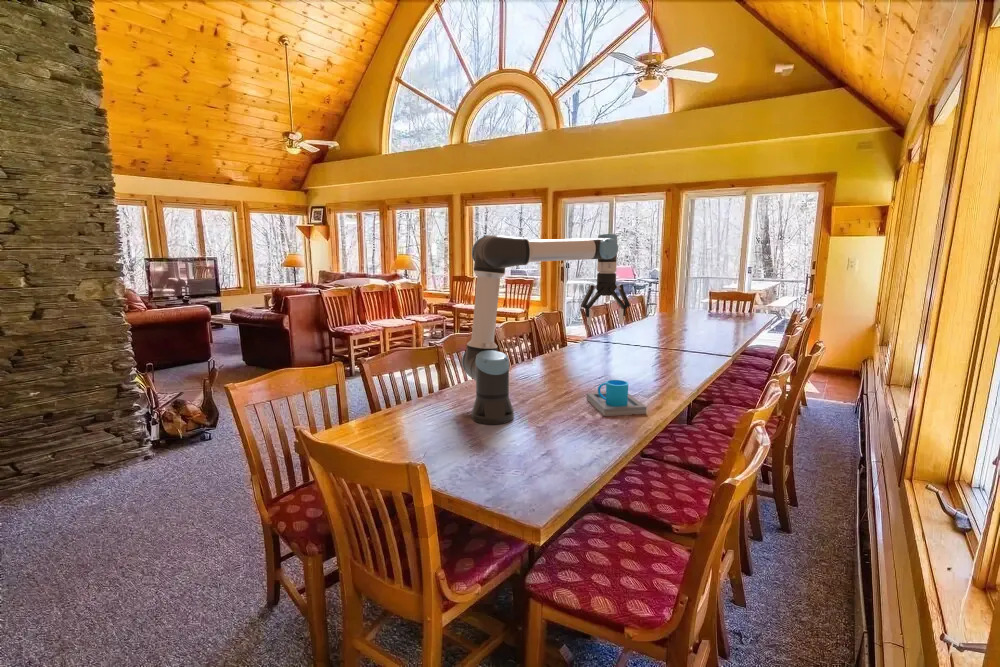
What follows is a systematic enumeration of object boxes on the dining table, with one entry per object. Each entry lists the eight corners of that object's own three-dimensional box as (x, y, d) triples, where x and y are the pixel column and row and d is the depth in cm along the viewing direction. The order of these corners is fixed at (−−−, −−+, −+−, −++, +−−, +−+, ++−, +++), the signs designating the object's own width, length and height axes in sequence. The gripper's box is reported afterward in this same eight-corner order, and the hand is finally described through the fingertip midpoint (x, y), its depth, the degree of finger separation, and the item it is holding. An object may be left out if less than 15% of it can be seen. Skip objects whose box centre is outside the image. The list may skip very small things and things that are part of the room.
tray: (604, 416, 179) (604, 409, 178) (586, 399, 198) (586, 393, 198) (646, 413, 181) (646, 406, 181) (624, 397, 201) (624, 391, 200)
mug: (631, 402, 189) (631, 382, 188) (621, 408, 183) (622, 387, 181) (602, 397, 196) (602, 377, 195) (592, 402, 190) (593, 381, 189)
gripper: (579, 273, 194) (578, 326, 198) (639, 272, 198) (637, 325, 202) (574, 272, 202) (572, 323, 205) (632, 271, 205) (630, 322, 209)
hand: (604, 324), depth 203 cm, fingers open, 13 cm apart
